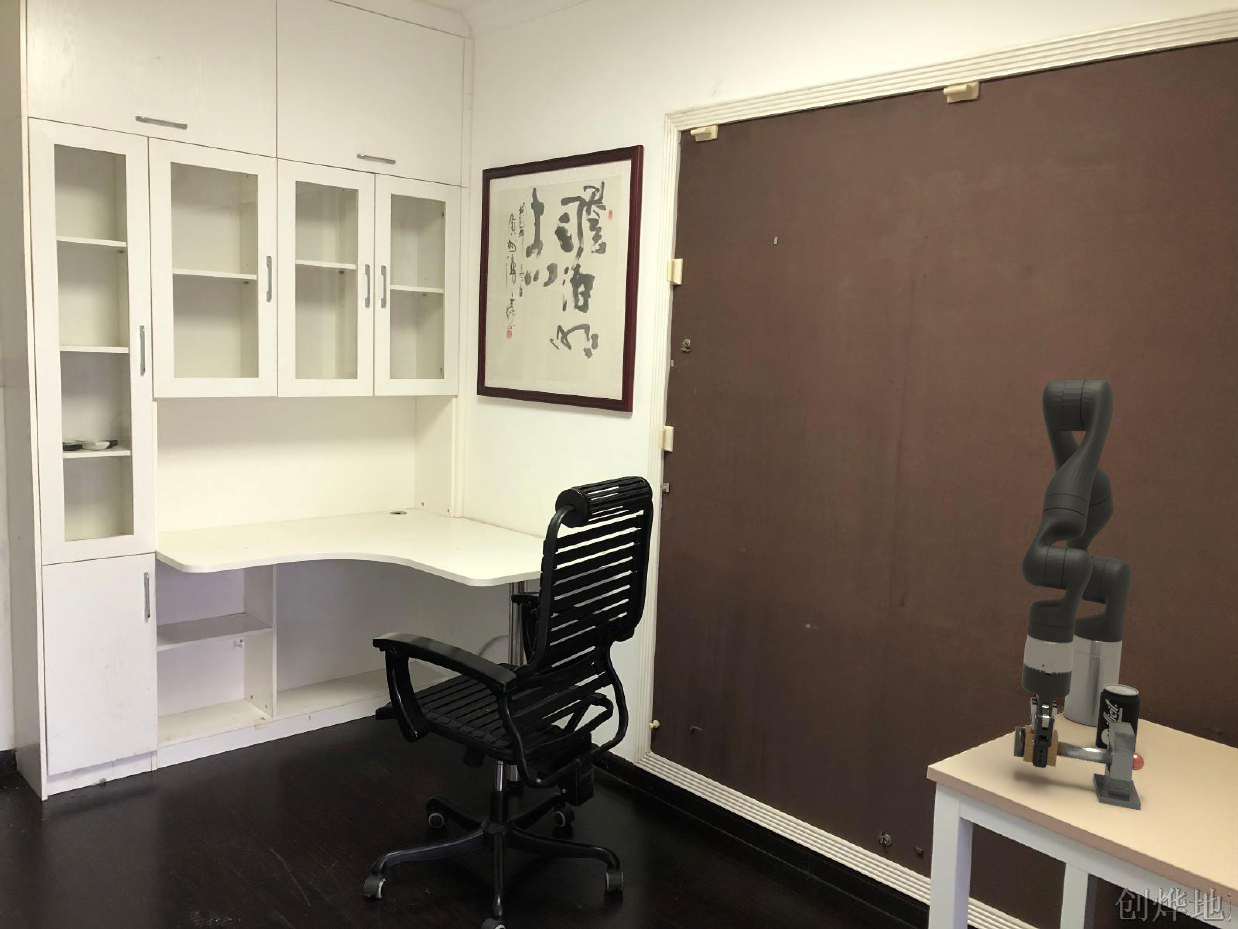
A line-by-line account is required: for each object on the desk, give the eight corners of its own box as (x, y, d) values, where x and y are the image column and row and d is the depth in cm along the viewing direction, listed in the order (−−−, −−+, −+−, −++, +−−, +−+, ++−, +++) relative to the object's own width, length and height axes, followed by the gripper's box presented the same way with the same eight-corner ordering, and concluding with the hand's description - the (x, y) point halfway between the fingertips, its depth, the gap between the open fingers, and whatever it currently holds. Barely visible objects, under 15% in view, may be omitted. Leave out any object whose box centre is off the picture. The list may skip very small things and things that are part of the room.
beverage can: (1139, 760, 175) (1146, 696, 174) (1100, 756, 177) (1107, 692, 175) (1128, 747, 182) (1134, 685, 180) (1090, 742, 183) (1096, 681, 182)
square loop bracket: (1093, 778, 166) (1099, 715, 165) (1132, 785, 164) (1138, 722, 163) (1098, 802, 157) (1105, 735, 156) (1140, 810, 155) (1147, 742, 153)
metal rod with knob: (1013, 760, 163) (1016, 732, 163) (1013, 750, 168) (1015, 722, 167) (1144, 783, 156) (1148, 754, 156) (1140, 772, 161) (1143, 743, 160)
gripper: (1022, 649, 170) (1013, 743, 172) (1025, 672, 157) (1015, 773, 159) (1068, 655, 168) (1059, 750, 170) (1075, 679, 155) (1065, 782, 156)
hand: (1038, 761), depth 164 cm, fingers closed on metal rod with knob, 4 cm apart
